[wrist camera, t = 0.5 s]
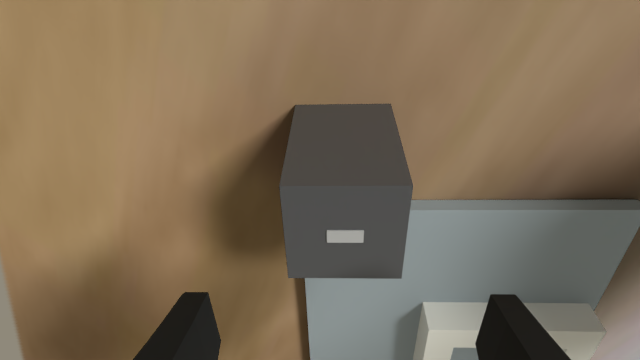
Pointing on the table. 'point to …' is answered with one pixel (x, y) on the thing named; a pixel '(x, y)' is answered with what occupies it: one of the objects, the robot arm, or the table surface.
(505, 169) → the table surface
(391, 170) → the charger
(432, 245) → the outlet plate
